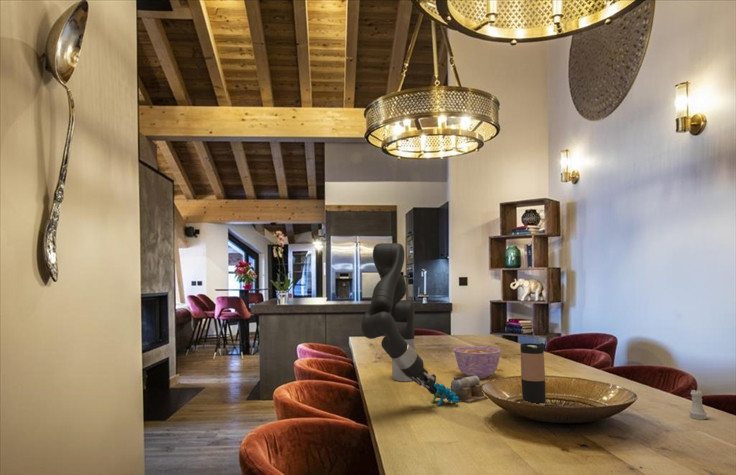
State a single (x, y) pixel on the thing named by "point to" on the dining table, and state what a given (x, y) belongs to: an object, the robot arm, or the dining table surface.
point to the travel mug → (533, 372)
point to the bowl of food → (477, 360)
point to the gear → (444, 394)
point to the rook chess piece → (697, 406)
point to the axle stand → (467, 389)
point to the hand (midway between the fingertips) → (434, 392)
